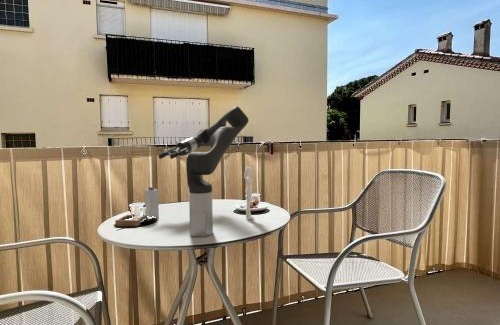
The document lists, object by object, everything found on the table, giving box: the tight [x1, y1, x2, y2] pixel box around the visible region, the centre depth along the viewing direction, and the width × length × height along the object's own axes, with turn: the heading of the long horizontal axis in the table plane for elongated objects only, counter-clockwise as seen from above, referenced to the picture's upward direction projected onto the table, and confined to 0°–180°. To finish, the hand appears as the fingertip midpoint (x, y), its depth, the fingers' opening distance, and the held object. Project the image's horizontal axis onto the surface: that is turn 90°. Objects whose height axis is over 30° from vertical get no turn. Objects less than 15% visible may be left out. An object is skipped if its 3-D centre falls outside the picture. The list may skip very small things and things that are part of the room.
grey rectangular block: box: [143, 186, 160, 219], centre depth 151 cm, size 4×4×15 cm
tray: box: [114, 214, 147, 227], centre depth 142 cm, size 10×10×2 cm
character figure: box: [243, 166, 255, 220], centre depth 148 cm, size 24×5×25 cm, turn 1°
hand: (164, 157), depth 156 cm, fingers open, 8 cm apart
